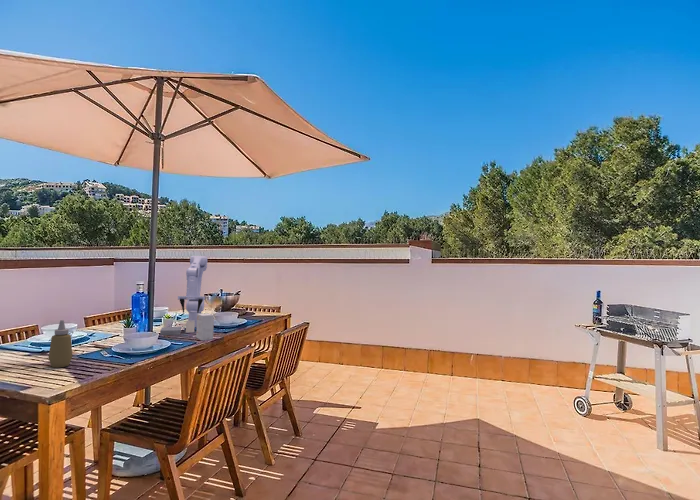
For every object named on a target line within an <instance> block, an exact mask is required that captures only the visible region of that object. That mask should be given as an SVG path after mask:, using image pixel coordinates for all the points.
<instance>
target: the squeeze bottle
mask: <svg viewBox="0 0 700 500" xmlns="http://www.w3.org/2000/svg"><path fill="white" fill-rule="evenodd" d="M72 359H73V346H72V335H70V334H69V329H68V328H66V325H65V320H64V319H62V320H60V321H59V324H58V328H57V329H54V335H52V336H51V339H50V346H49V351H48V360H49V363H50V367H51V368H57V369H58V368H65V367H68V366H69V365H70V363H71V361H72Z"/></svg>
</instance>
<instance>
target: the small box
mask: <svg viewBox="0 0 700 500" xmlns="http://www.w3.org/2000/svg"><path fill="white" fill-rule="evenodd" d="M214 319H215V315H214V314H212V313H208V312H207V313H202V312H201V314H197V327H196V333H195V335H196V336H195V338H196V339H198V340H200V341H209V340H210V341H211V340H214V325H215V324H214V322H215V321H214Z"/></svg>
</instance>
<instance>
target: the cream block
mask: <svg viewBox="0 0 700 500" xmlns="http://www.w3.org/2000/svg"><path fill="white" fill-rule="evenodd" d="M194 326H195V321H188V320H185V333H195V328H194Z"/></svg>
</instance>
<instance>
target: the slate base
mask: <svg viewBox="0 0 700 500" xmlns="http://www.w3.org/2000/svg"><path fill="white" fill-rule="evenodd" d="M159 331H160V332H159V333H160V334H159V336H180V335H181V332H182V327H181V326H167V327H166V326H165V327H164V326H163V327H161V328H160V330H159Z"/></svg>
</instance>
